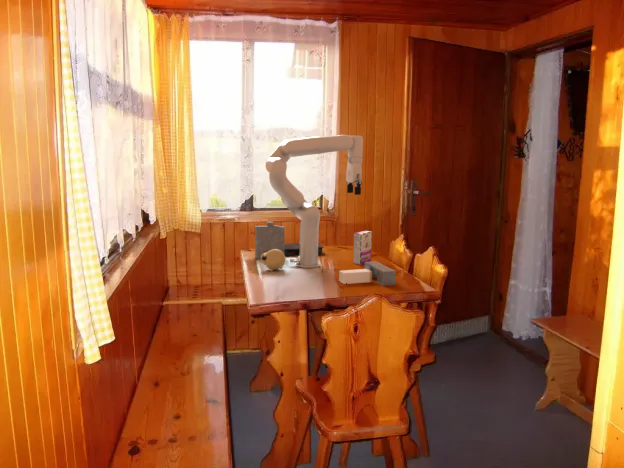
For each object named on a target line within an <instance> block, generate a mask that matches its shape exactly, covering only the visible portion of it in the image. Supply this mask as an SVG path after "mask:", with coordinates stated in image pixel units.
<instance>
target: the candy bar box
mask: <svg viewBox="0 0 624 468" xmlns="http://www.w3.org/2000/svg"><path fill="white" fill-rule="evenodd" d="M372 237H373V232H372V231H369V230H363V231H359V232H358V231H357V232H354V233H353V255H352V256H353V257H352V258H353V265H354V264H355V265H360V266H361V265H365V262H370V261H372V248H373V246H372V244H373V243H372V242H373V240H372V239H373V238H372Z"/></svg>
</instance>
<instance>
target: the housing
mask: <svg viewBox="0 0 624 468" xmlns="http://www.w3.org/2000/svg"><path fill="white" fill-rule="evenodd" d="M364 269H369V270H370V271H372V279H376V283H377V284H379V285H380V286H382V287H385V286H387V287H389V286H396V274H397V273H396V270H395V269H393V268H391V267H389V266H386V265H385V264H383V263H381V262H379V261H376V260H373V261H372V260H371V261H370V262H365V263H364Z"/></svg>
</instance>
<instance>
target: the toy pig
mask: <svg viewBox="0 0 624 468" xmlns="http://www.w3.org/2000/svg"><path fill="white" fill-rule="evenodd" d="M260 261H261V263H262V264H263V265H264V266H266V268H268V269H269V270H270V272H273V271H275V270H282V269H283V268H284V266H285V263H286V256H285V255H284V253H283V252H282V251H281V250H279V249H272V250H270V251H268V252H267V253H263V254H262V255H261V259H260Z"/></svg>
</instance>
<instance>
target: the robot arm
mask: <svg viewBox="0 0 624 468" xmlns="http://www.w3.org/2000/svg"><path fill="white" fill-rule="evenodd" d="M363 146H364V138H363V136H362V135H349V134H338V135H332V136H311V137H301V138H300V137H299V138H291V139H284V140H283V141H282V142H281V143H280V144H279V145H278V146H277V147H276V148H275V150H274V151H273V152H272V153H271V155H270V156H269V157H268V158H267V160H266V162H265V168H266V169H265V170H266V171H267V172H268V174H269V175H268V178H269V184H270V186H271V188H272V189H273V190H274V192H276V194H277V195H278V196H279V197H280V198H281V202H282V204H283V205H284V207H285V208H286V209H288V210H289V211H290V212H291V213H292V214H293V215H294V216H295V217H296V218H297V219H299V220H300V225H299V243H300V252H299V256H297V257H296V258H290V259H289V262H290V263H295V266H296V267H298V268H305V269H314V268H315V269H316V268H319V267H322V266H321V265H322V264H321V262H319V255H318V244H319V227H320V220H321V212H320V209H319V208H318V207H317V206H316V205H315V204H312V203H309V202H308V201H307V200H306V199H305V196H304V194H303V193H302V192H301V191H300V190H299V189H298V188H297V187H296V186H295V185H294V184H293V183H292V182H291V181H290V180H289V178H288V177H287V168H288V166H287V165H288V164H287V162H288V161H289V160H290V159H291V158H295V157H303V156H312V155H320V154H327V153H333V152H341V151H342V152H344V151H347V165H346V174H345V175H346V176H345V180H346V186H347V187H346V193H347V194H353V193H354V195H356V196H359V195H361V193H362V191H361V190H362V183H363V178H362V177H363V176H362V174H363V169H362V164H363V152H364V151H363V148H364V147H363ZM353 184H354V185H355V186H354V185H353Z"/></svg>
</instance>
